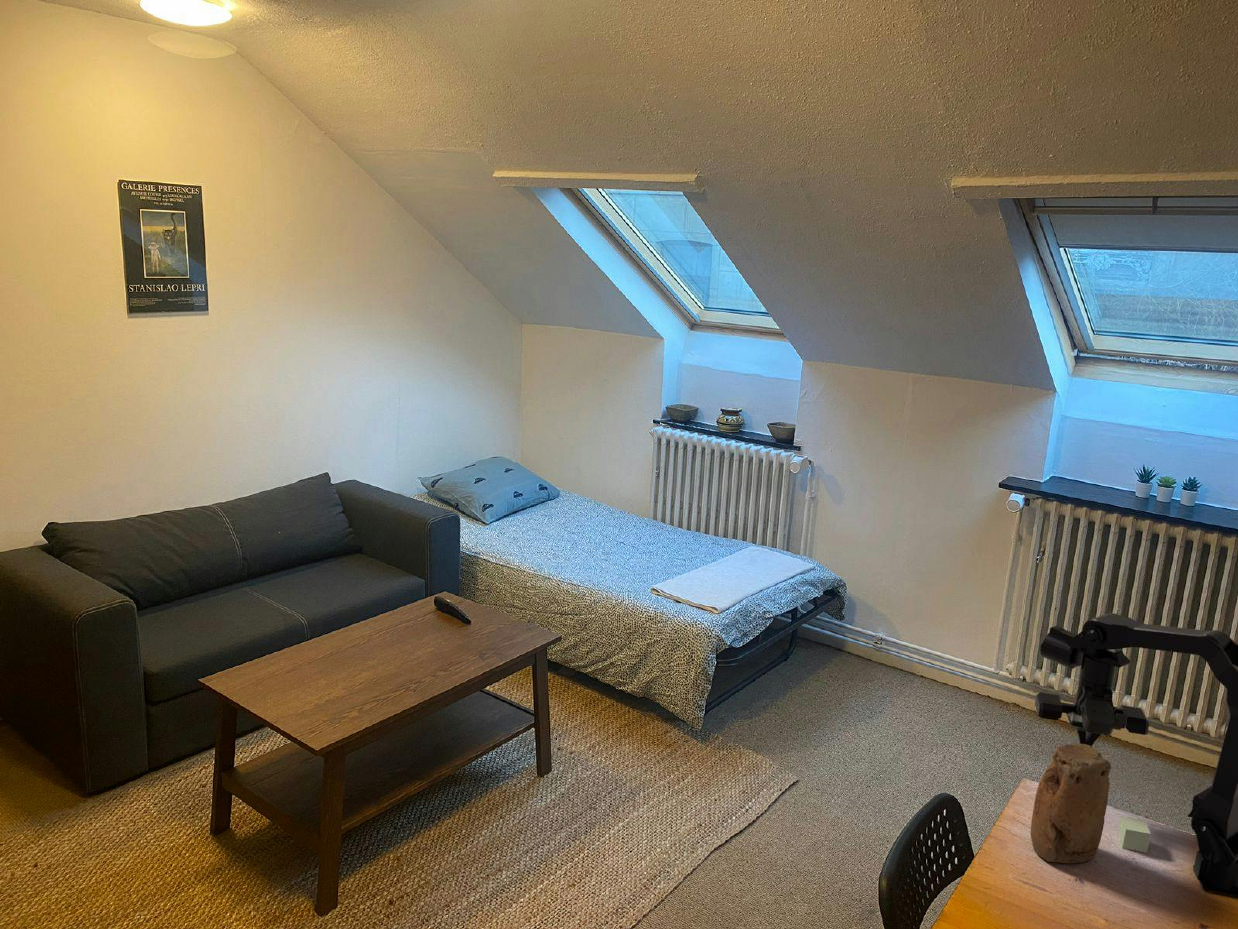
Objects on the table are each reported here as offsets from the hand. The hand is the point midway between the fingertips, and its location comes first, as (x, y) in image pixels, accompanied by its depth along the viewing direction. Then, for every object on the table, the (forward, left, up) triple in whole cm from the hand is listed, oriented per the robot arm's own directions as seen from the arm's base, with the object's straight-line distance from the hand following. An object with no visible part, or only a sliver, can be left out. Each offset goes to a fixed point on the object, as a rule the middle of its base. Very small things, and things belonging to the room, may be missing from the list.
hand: (1083, 753), depth 176 cm
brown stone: (+5, +17, -11) cm, 21 cm away
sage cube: (-8, +10, -11) cm, 17 cm away
